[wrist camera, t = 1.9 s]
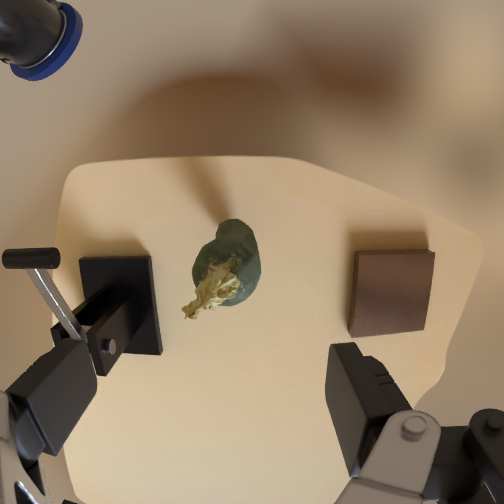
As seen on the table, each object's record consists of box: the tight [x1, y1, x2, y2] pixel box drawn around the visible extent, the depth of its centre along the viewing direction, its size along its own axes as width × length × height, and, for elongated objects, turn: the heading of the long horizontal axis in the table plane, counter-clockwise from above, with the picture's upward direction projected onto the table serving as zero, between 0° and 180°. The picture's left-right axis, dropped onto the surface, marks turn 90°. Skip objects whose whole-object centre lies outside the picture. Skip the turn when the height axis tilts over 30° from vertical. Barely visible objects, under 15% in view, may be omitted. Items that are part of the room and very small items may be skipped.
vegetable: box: [181, 219, 261, 319], centre depth 24 cm, size 4×4×20 cm
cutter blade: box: [2, 247, 93, 363], centre depth 22 cm, size 13×5×2 cm
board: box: [349, 250, 435, 338], centre depth 35 cm, size 10×10×2 cm
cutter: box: [50, 256, 163, 376], centre depth 30 cm, size 12×9×12 cm
